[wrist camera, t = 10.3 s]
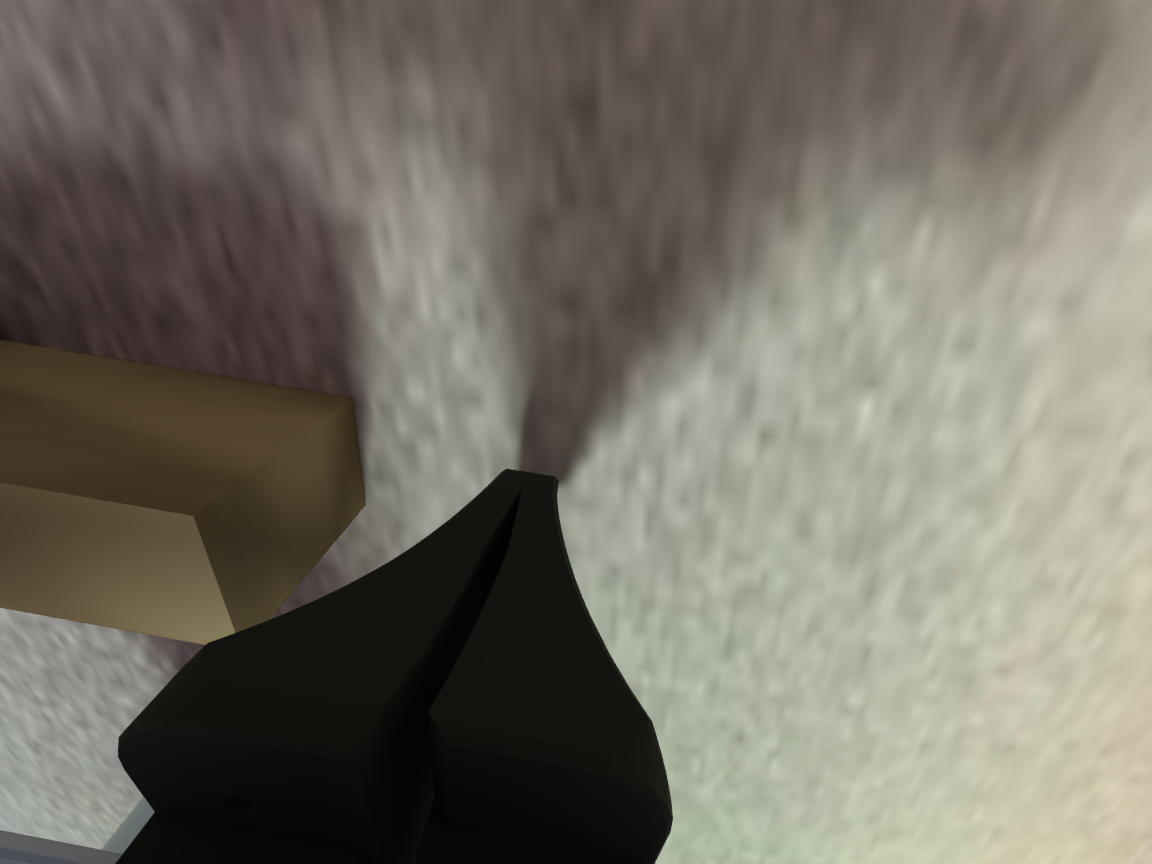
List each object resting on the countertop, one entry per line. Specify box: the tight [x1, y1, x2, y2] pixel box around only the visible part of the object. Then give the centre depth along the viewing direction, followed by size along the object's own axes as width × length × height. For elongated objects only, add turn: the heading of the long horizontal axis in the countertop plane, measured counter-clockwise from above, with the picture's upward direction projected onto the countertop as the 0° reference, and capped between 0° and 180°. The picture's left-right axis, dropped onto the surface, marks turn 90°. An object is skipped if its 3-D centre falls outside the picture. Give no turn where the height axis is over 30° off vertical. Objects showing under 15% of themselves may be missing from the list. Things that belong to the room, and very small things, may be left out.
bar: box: [0, 340, 365, 645], centre depth 11 cm, size 4×12×5 cm, turn 83°
